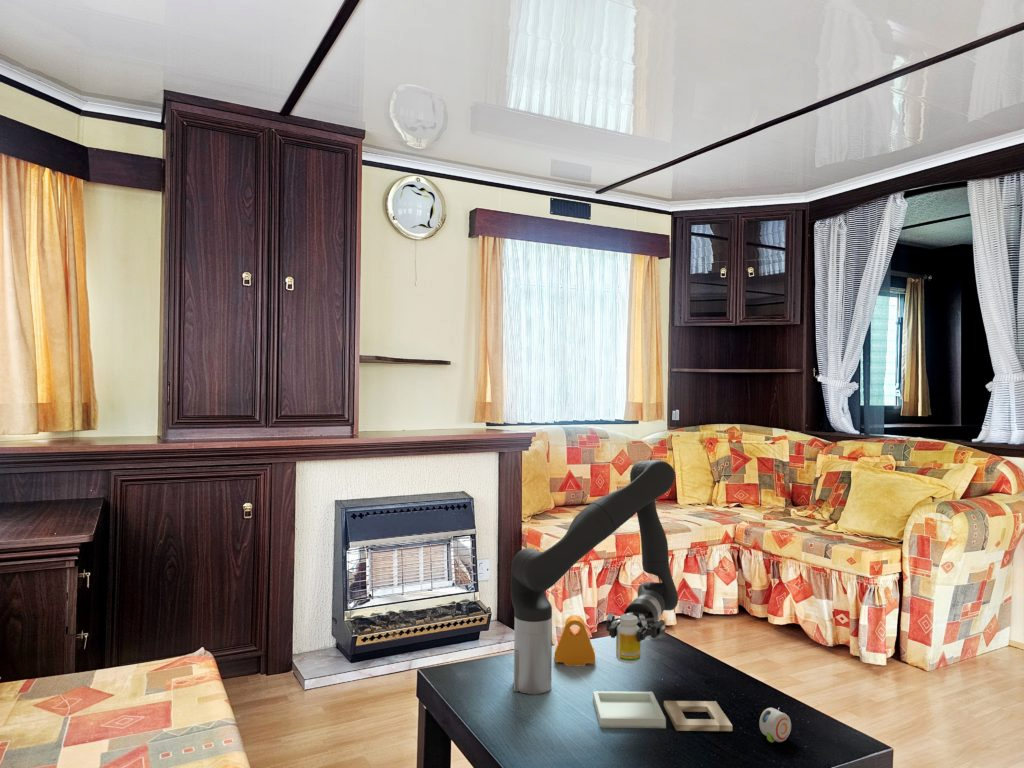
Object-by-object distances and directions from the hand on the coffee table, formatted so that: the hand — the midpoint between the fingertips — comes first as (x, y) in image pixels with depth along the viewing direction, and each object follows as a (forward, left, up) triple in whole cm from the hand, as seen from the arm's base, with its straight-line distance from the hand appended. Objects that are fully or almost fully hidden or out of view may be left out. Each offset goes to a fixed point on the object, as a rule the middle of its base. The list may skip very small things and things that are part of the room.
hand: (625, 635), depth 154 cm
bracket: (-8, +34, -18) cm, 40 cm away
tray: (+1, +2, -18) cm, 18 cm away
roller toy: (+30, -9, -18) cm, 36 cm away
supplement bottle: (+1, +2, -6) cm, 7 cm away
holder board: (+16, 0, -18) cm, 24 cm away
